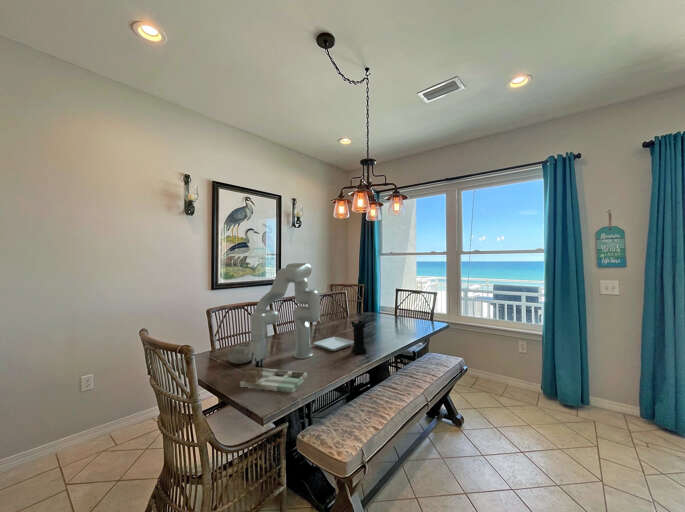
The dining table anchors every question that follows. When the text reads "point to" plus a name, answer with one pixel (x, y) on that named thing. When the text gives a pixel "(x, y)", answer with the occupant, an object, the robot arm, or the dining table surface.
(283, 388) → the trap box
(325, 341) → the salad plate
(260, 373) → the walnut block
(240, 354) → the grey stone
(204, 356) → the dining table surface
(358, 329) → the chess piece
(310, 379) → the dining table surface
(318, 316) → the robot arm
